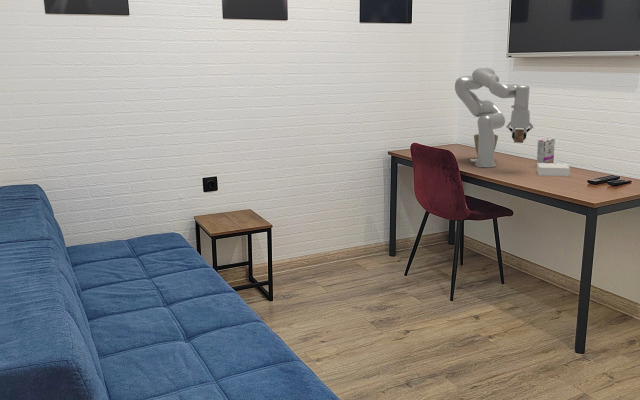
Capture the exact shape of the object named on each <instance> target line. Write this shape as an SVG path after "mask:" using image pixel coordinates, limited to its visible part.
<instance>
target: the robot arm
mask: <svg viewBox="0 0 640 400" xmlns="http://www.w3.org/2000/svg"><path fill="white" fill-rule="evenodd" d="M483 87H485V88H487V89H488V90H489V92H490V93H491V94H492V95H493V96H495V97H498V98H501V99H513V98H514V101H513V103H514V104H513V105H511V109H512V110H511V115H510V121H509V123H507V125H506V127H505V128H507V129H508V130H509V131H510V132H511V139H512V140H513V141H514V134H515V129H524V139H523V141H525V139H527V134H528V133H529V131H531V130H532V129H534V125H532V123H531V122H530V120H531V118H530V115H531V112H530V110H529V99H530V86H529V85H525V84H523V85H521V84H516V83H515V84H501V83H500V78H499V76H498V75H497V74H496V73H495V70H494V69H493V68H490V67H484V68H483V67H482V68H481V67H480V68H479V67H478V68H476V69H475V70H474V71H472V73H471V75H464V76H460V77H458V78H457V79H456V80H455V83H454V92H455V94H456V95H457V97H458V99H460V100H461V102H462V103H463V104H464V106H465V107H466V108H467V109H468V111H469V112H470V113H471V114H472V115H473V117H475V118H478V119H477V129H478V134H479V142H478V156H477V158H470V160H469V162H470V163H475V164H474V166H475V167H478V168H495V167H497V163H495V161H494V160H495V151H494V147H495V135H496V134H495V133H494V130H496V129H501V128H503V127H504V126H505V124H506V119H505V116H504V114H503V113H502V111H501V110H500V109H499V108H498V107H497V105H496V104H495V103H494V102H493V101H491V100H481V99H480V98H479V97H478V96H477V94H475V93H474V92H473V91H472V90H478V89H481V88H483ZM495 148H496V147H495Z"/></svg>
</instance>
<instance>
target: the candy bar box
mask: <svg viewBox="0 0 640 400" xmlns="http://www.w3.org/2000/svg"><path fill="white" fill-rule="evenodd" d="M555 140H556V139H555V138H545V139H540V140H537V152H536V153H537V155H536V164H537V163H554V159H555V158H554V157H555V143H556V142H555Z"/></svg>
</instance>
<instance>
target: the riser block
mask: <svg viewBox="0 0 640 400" xmlns="http://www.w3.org/2000/svg"><path fill="white" fill-rule="evenodd" d="M536 173H537V176H539V177H542V176H543V177H544V176H545V177H549V176H550V177H570V175H571V168H570V166H569V165H568V164H567V163H558V162H557V163H554V162H553V163H537V162H536Z"/></svg>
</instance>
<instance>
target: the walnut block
mask: <svg viewBox="0 0 640 400" xmlns="http://www.w3.org/2000/svg"><path fill="white" fill-rule="evenodd" d="M514 131H515V134H514V140H513V143H517V144H518V143H519V144H523V143H524V140H523V139H524V132H525V131H524V128H515V130H514Z"/></svg>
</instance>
